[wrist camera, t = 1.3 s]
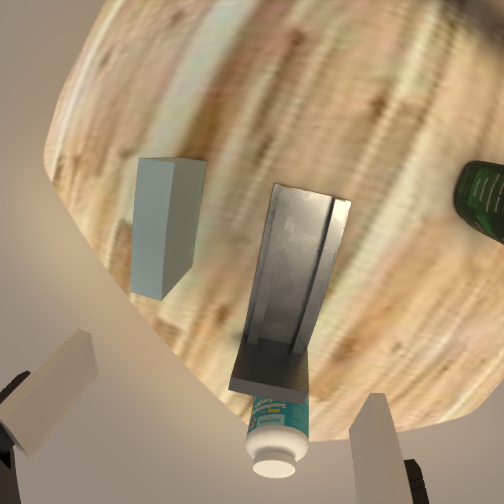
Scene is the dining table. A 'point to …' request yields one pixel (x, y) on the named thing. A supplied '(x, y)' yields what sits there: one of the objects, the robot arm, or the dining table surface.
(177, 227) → the gray rectangular block
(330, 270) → the floor track
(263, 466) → the pill bottle
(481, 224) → the coffee jar
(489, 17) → the dining table surface
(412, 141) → the dining table surface
